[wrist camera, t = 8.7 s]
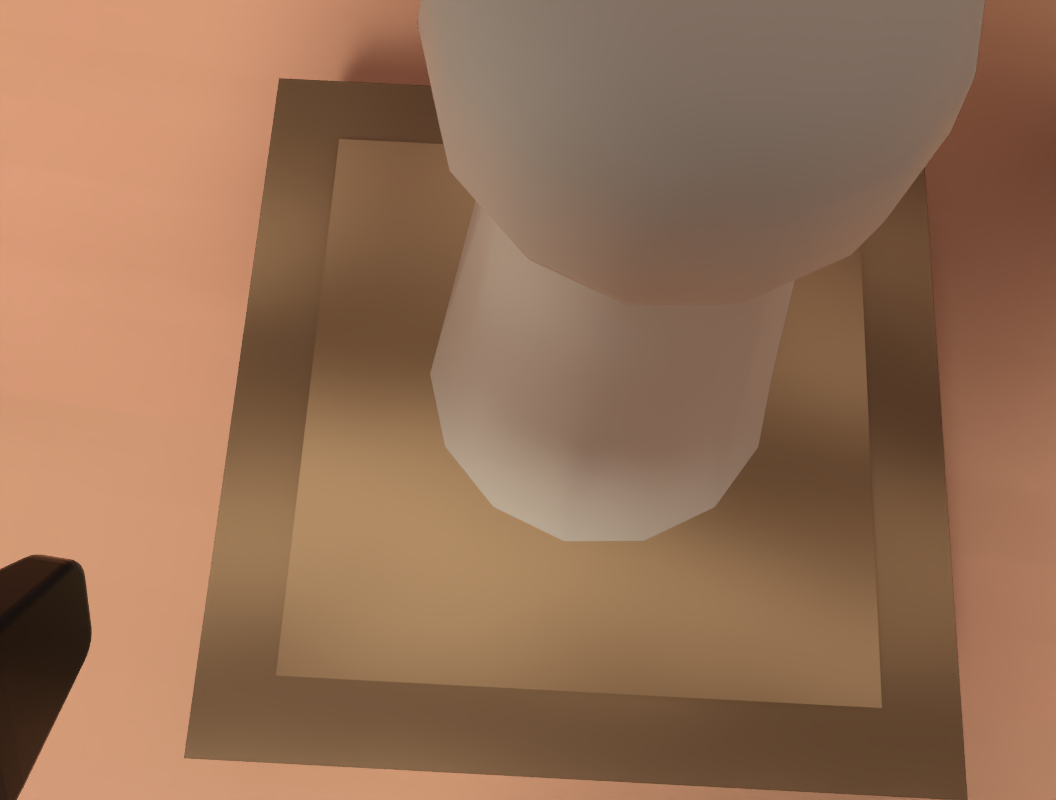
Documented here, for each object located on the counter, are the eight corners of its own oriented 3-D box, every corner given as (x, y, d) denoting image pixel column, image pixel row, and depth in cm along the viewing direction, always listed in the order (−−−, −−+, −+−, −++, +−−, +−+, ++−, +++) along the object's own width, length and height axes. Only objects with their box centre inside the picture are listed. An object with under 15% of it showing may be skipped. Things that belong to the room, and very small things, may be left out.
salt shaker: (654, 232, 20) (877, -497, 8) (792, 478, 19) (1343, 79, 6) (394, 347, 19) (170, -251, 7) (518, 612, 18) (519, 467, 5)
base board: (903, 782, 20) (971, 801, 17) (231, 746, 20) (181, 758, 17) (872, 177, 24) (923, 105, 21) (308, 150, 24) (277, 74, 21)
